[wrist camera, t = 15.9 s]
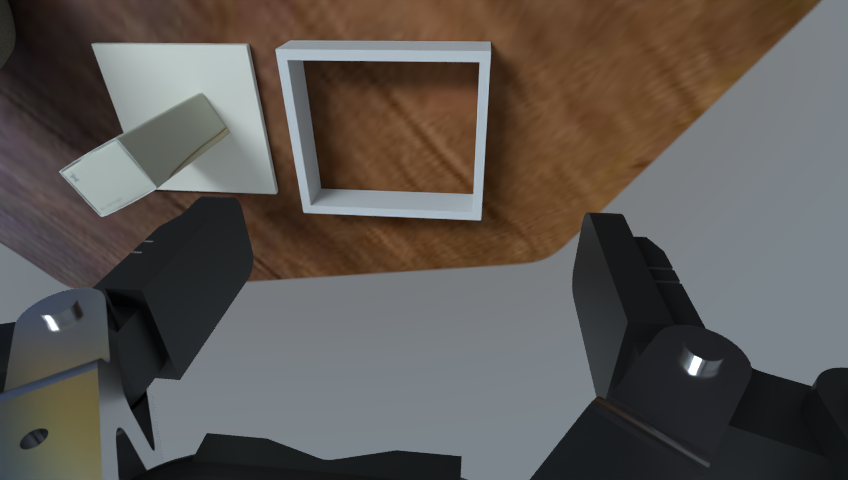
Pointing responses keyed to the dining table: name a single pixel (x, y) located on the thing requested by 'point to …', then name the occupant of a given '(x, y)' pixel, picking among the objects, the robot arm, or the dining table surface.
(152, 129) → the skincare box
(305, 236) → the dining table surface
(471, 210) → the white square frame
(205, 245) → the robot arm
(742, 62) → the dining table surface
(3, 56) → the cantaloupe
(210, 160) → the cream tile
